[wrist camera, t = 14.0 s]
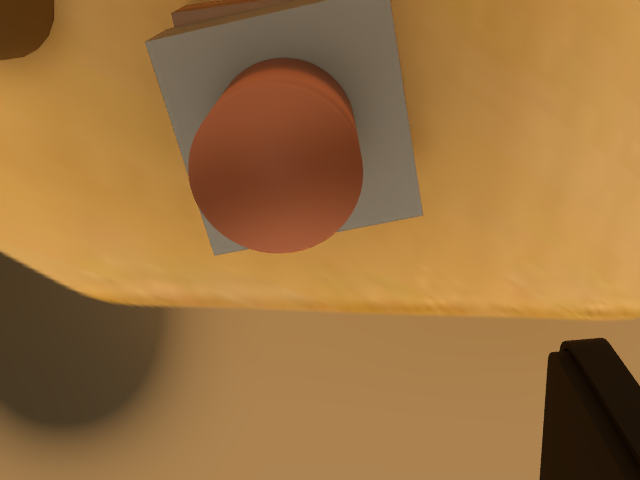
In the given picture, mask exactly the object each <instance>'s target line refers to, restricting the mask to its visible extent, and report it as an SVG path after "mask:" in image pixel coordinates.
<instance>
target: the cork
mask: <svg viewBox="0 0 640 480" xmlns="http://www.w3.org/2000/svg"><path fill="white" fill-rule="evenodd" d="M53 20H54V0H0V60H6V59H13V58H19V57H24V56H26V55H28V54H30V53H31V52H33V51H35V50H37V49H38V48H39V47H40V46H41V44H42V43H43V42H44V41H45V39H46V38H47V37H48V36H49V33H50V30H51V26H52V23H53Z"/></svg>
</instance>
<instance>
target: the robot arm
mask: <svg viewBox="0 0 640 480" xmlns="http://www.w3.org/2000/svg"><path fill="white" fill-rule="evenodd" d="M540 480H640V386H639V384H638V383H637V382H636V380H635V379H634V377H633V376H632V375H631V373H630V372H629V370H628V369H627V367H626V366H625V365H624V363H623V362H622V360H621V359H620V358H619V356H618V355H617V353H616V352H615V351H614V349H613V348H612V346H611V345H610V344H609V342H608V341H607V340H606V339H604V338H594V339H582V340H571V341H564V342H562V344H561V346H560V351H559V352H551V353H550V354H549V357H548V368H547V382H546V396H545V410H544V426H543V439H542V454H541V468H540Z"/></svg>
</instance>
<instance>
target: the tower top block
mask: <svg viewBox="0 0 640 480" xmlns="http://www.w3.org/2000/svg"><path fill="white" fill-rule="evenodd" d="M145 43H146V46H147V49H148V53H149V56H150V59H151V62H152V65H153V68H154V71H155V74H156V77H157V80H158V83H159V86H160V89H161V93H162V96H163V99H164V102H165V105H166V108H167V111H168V114H169V117H170V120H171V123H172V126H173V129H174V133H175V136H176V139H177V142H178V145H179V148H180V151H181V154H182V157H183V160H184V163H185V166H186V169H187V173H188V162H189V153H190V149H191V145H192V142H193V139H194V137H195V134H196V132H197V131H198V129H199V127H200V125H201V124H202V122H203V121H204V119H205V118H206V116H207V115H208V114H209V112H210V111H211V109H212V108H213V107H214V105H215V104H216V102H217V101H218V99H219V98H220V97H221V95H222V94H223V92H224V91H225V89H226V88H227V87H228V85H229V84H230V83H231V81H232V80H233V79H234V78H235V77H236V76H237V75H238V74H239V73H241V72H242V71H243V70H245V69H246V68H248V67H250V66H251V65H253V64H256V63H258V62H261V61H264V60H268V59H272V58H294V59H300V60H303V61H307V62H310V63H312V64H314V65H316V66H318V67H320V68H321V69H323V70H325V71H326V72H327V73H328V74H330V75H331V76H332V77H333V78H334V79H335V80H336V81H337V82H338V83H339V84H340V86H341V87H342V89H343V90H344V91H345V93H346V95H347V97H348V99H349V101H350V104H351V107H352V110H353V114H354V119H355V124H356V130H357V135H358V140H359V145H360V151H361V156H362V161H363V184H362V189H361V194H360V196H359V199H358V202H357V205H356V207H355V208H354V210H353V212H352V214H351V215H350V217H349V218H348V220H347V221H346V222H345V224H344V225H343V226H342V227H341V228H340V229H339V230H338V231H337V232H340V231H345V230H350V229H355V228H361V227H366V226H371V225H376V224H381V223H387V222H392V221H397V220H402V219H407V218H413V217H418V216H423V211H422V205H421V198H420V192H419V185H418V179H417V172H416V166H415V159H414V153H413V146H412V140H411V133H410V126H409V120H408V113H407V107H406V100H405V94H404V87H403V81H402V74H401V68H400V61H399V55H398V48H397V42H396V35H395V29H394V22H393V15H392V9H391V2H390V0H293V1H288V2H284V3H279V4H275V5H271V6H266V7H262V8H258V9H253V10H249V11H245V12H240V13H236V14H232V15H227V16H223V17H219V18H214V19H210V20H205V21H201V22H197V23H192V24H188V25H184V26H179V27H175V28H170V29H167V30H165V31H163V32H161V33H160V34H158V35H156V36H154V37H153V38H151V39H149V40H147V41H146V42H145ZM188 176H189V173H188ZM200 213H201V216H202V219H203V222H204V225H205V228H206V231H207V234H208V237H209V240H210V243H211V246H212V249H213V253H214V256H215V255H220V254H225V253H230V252H236V251H241V250H246V249H249V248H246V247H244V246H241V245H239V244H237V243H235V242H233V241H231V240H230V239H228V238H227V237H225V236H224V235H223V234H221V233H220V232H219V231H218V230H217V229H215V228H214V227H213V226H212V225H211V223H210V222H209V221H208V220H207V219H206V218H205V216H204V215H203V213H202V212H201V210H200Z"/></svg>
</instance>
